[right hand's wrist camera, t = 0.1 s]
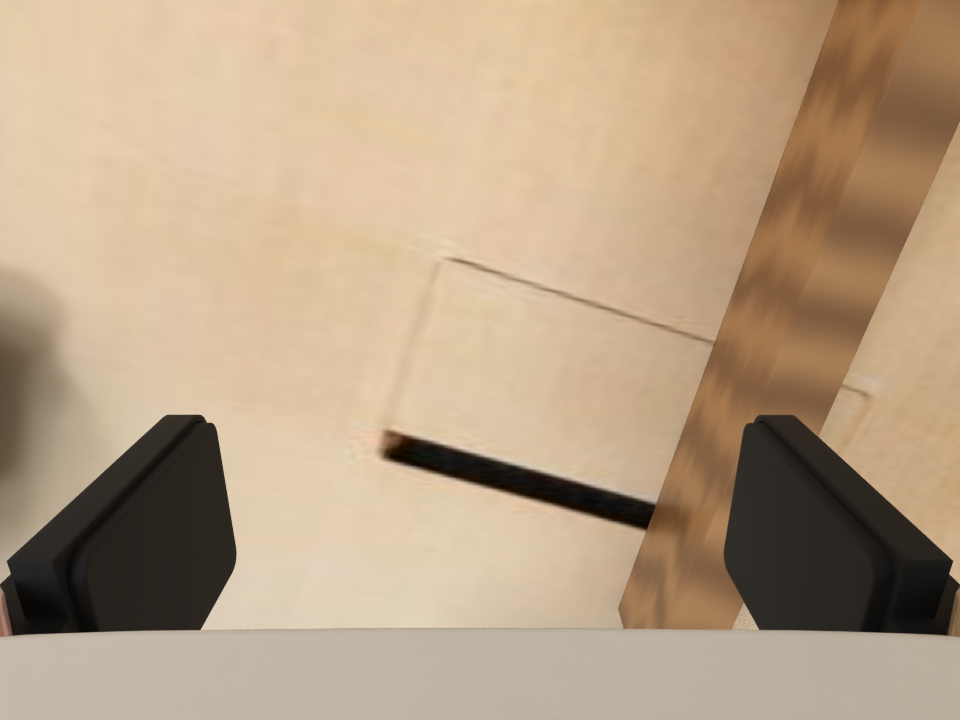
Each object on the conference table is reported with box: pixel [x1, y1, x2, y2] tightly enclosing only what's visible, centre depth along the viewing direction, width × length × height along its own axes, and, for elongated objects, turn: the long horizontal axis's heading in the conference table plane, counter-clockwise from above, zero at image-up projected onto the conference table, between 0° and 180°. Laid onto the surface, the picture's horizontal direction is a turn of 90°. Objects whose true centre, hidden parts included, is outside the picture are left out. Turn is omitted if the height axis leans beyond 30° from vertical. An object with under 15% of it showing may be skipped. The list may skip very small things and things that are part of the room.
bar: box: [618, 0, 960, 630], centre depth 36 cm, size 68×4×8 cm, turn 168°
